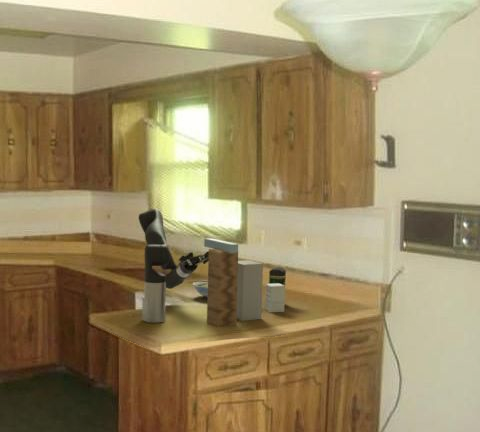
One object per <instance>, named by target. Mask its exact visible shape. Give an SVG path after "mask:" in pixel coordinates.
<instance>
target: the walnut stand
mask: <svg viewBox="0 0 480 432" xmlns="http://www.w3.org/2000/svg"><path fill="white" fill-rule="evenodd" d="M208 251H209V260H208V262H207V263H208V268H207V269H208V270H207V280H208V298H207V303H206V304H207V305H206V306H207V307H206V308H207V309H206V323H207V324H208V323H209V324H211V325H213V326H215V327H226V326H227V327H228V326H237V319H236V315H237V279H238V261H239V252H238V253H230V252H225V251H221V250H217V249H213V248H208Z"/></svg>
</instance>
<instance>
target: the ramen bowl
mask: <svg viewBox="0 0 480 432" xmlns="http://www.w3.org/2000/svg"><path fill="white" fill-rule="evenodd" d="M187 283H191V281H189V282H188V281H187ZM192 286H193V287H194V289H195V290H196V292H197V293H198V294H200V295H201V296H203V297H206V298H207V299H208V279H207V280H198V281H197V280H196V281H193V282H192Z"/></svg>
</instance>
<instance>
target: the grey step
mask: <svg viewBox="0 0 480 432" xmlns="http://www.w3.org/2000/svg"><path fill="white" fill-rule="evenodd" d="M263 274H264V263H262V262H257V261H254V260H249V259H248V260H247V259H246V260H245V259H243V260H238V279H237V315H236V320H239V321H243V322H244V321H253V320H261V319H262V309H263V307H262V306H263V277H264V276H263Z"/></svg>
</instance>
